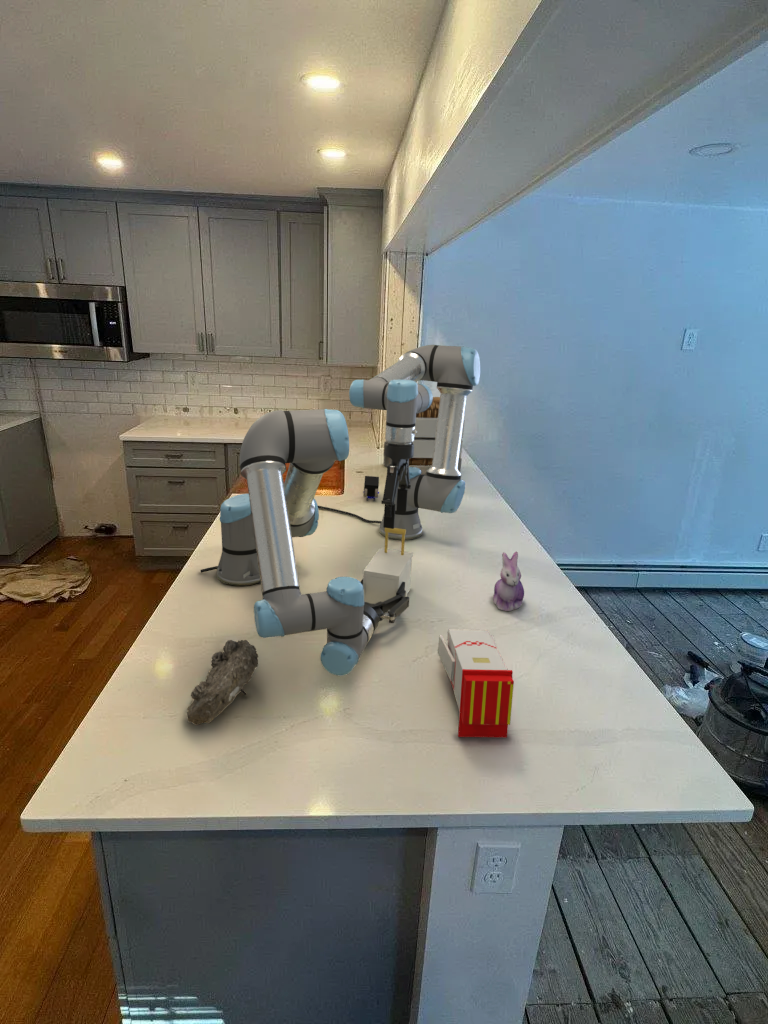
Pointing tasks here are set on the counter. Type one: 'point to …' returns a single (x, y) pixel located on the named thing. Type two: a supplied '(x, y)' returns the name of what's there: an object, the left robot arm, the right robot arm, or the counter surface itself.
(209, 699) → the fossil
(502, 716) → the toy
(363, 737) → the counter surface
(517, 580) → the figurine
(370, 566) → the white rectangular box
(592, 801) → the counter surface
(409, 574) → the chest
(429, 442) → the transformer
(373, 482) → the figurine character
